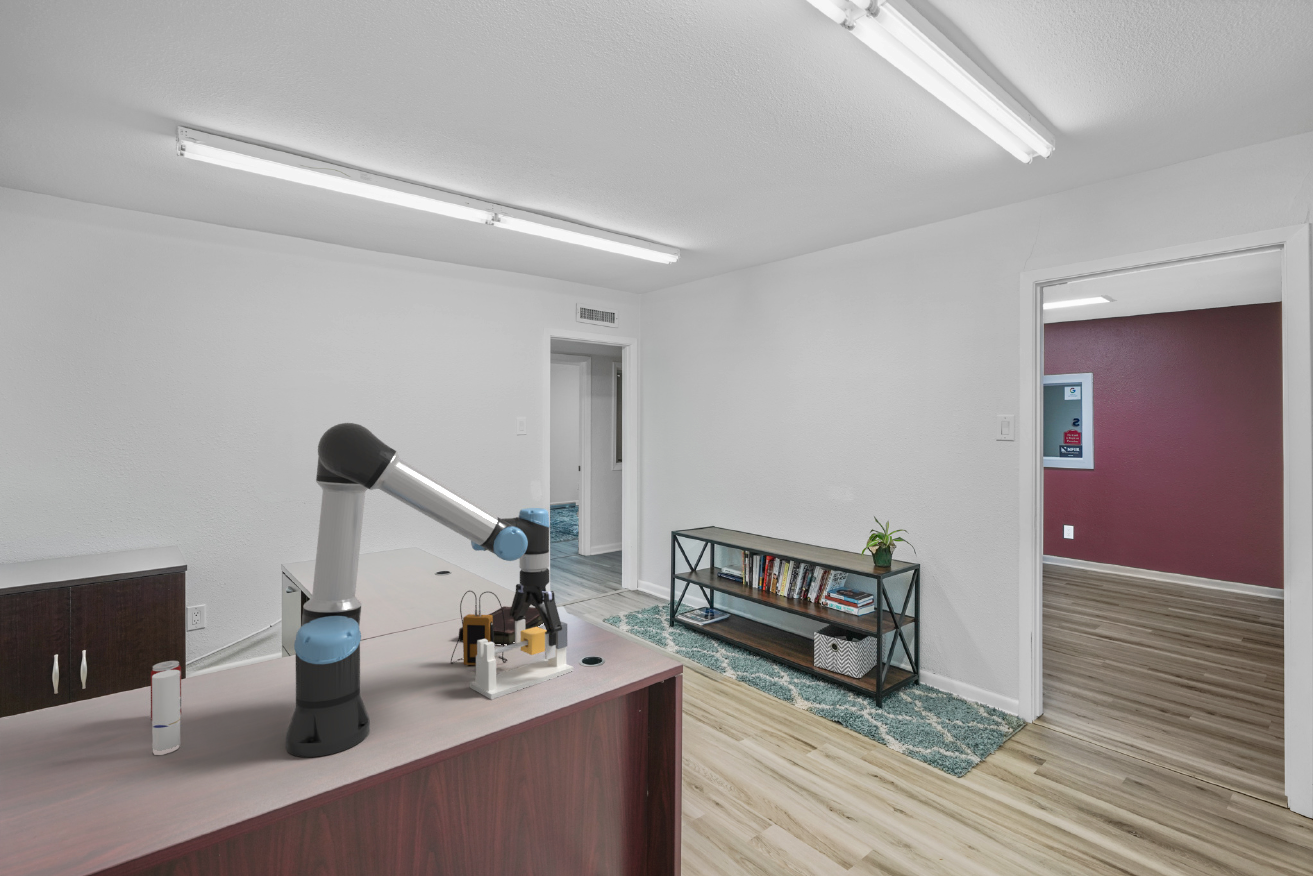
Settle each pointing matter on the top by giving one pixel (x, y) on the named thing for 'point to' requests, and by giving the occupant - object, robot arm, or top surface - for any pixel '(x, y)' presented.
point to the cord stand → (521, 676)
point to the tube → (166, 709)
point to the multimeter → (476, 632)
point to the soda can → (165, 667)
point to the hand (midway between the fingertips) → (534, 651)
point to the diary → (510, 624)
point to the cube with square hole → (533, 640)
